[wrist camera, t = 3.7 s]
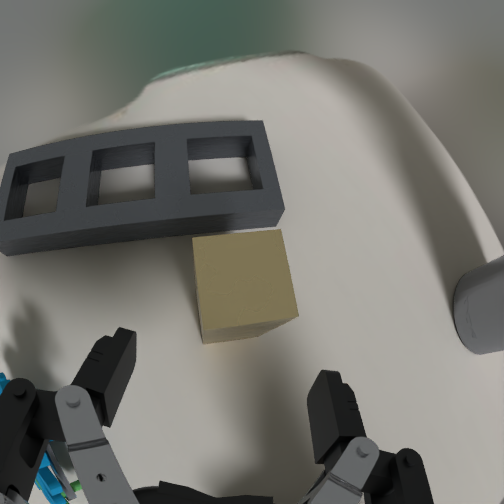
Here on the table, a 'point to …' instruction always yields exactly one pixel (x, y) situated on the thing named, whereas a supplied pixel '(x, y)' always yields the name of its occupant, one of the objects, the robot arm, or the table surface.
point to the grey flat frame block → (139, 211)
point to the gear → (45, 478)
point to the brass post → (242, 285)
